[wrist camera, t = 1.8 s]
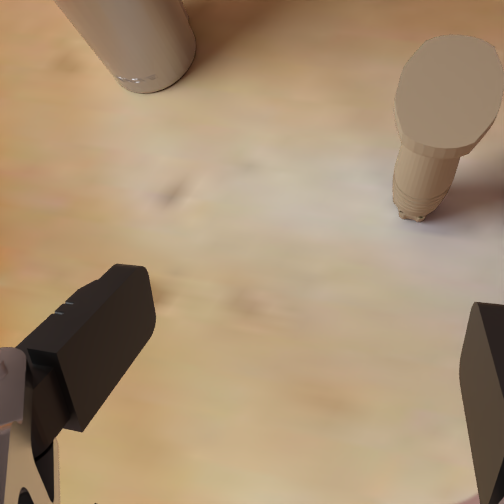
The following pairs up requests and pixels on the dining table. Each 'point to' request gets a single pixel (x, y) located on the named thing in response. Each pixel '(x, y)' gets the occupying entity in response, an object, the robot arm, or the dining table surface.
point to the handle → (442, 116)
